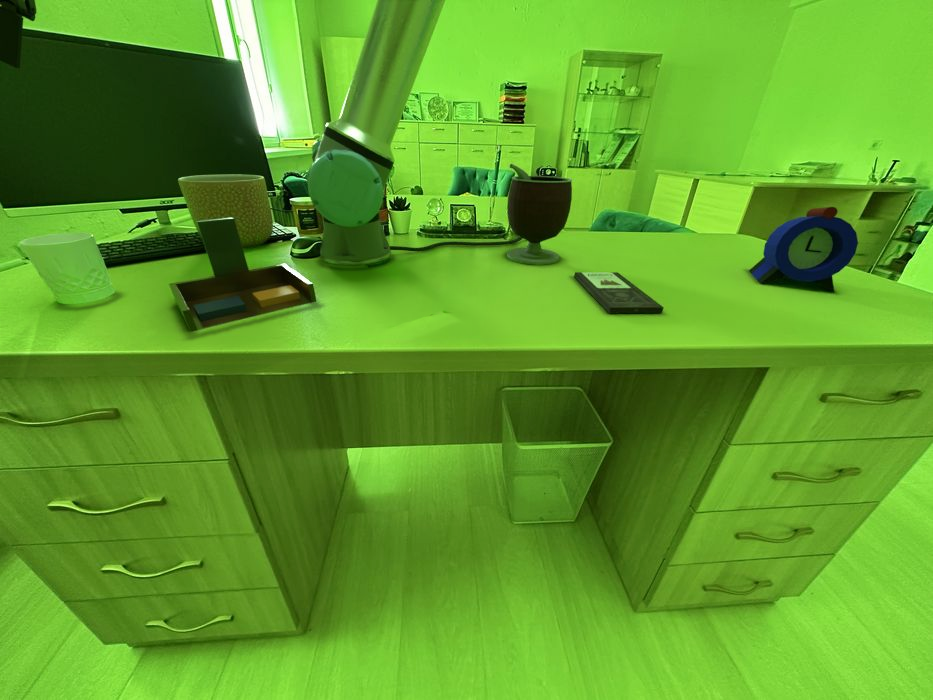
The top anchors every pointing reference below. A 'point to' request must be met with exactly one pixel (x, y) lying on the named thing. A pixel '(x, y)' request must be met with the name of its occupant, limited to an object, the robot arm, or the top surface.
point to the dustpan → (234, 278)
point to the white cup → (70, 266)
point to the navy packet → (219, 308)
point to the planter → (231, 203)
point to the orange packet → (276, 296)
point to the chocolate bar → (617, 293)
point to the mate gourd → (537, 214)
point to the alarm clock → (808, 249)
